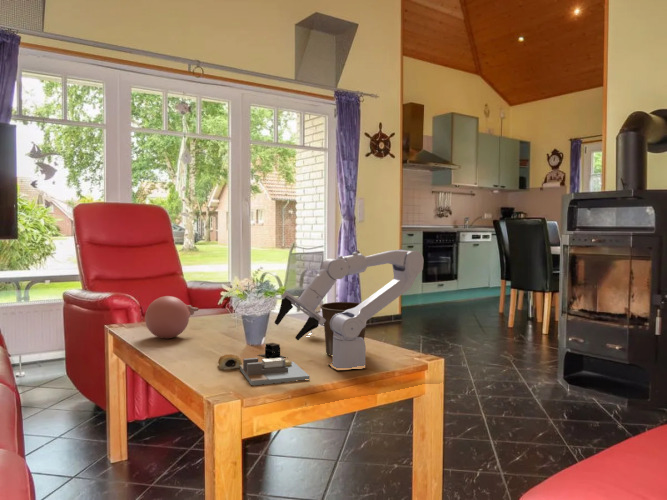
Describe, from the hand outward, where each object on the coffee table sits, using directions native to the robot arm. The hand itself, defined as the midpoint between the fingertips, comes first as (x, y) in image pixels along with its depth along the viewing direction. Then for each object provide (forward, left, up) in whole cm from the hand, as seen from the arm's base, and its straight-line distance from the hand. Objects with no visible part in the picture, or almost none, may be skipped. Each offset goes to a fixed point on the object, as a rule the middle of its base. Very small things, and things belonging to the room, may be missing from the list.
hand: (286, 331), depth 149 cm
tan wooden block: (+4, 0, -11) cm, 11 cm away
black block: (-1, -20, -13) cm, 23 cm away
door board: (+4, 0, -12) cm, 13 cm away
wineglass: (-23, -47, -12) cm, 54 cm away
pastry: (+14, -13, -13) cm, 23 cm away
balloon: (+27, -58, -12) cm, 65 cm away
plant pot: (-24, -16, -12) cm, 32 cm away
